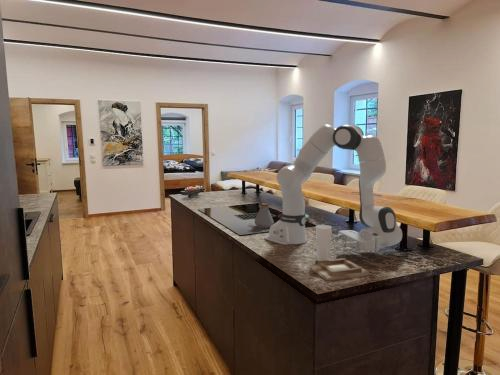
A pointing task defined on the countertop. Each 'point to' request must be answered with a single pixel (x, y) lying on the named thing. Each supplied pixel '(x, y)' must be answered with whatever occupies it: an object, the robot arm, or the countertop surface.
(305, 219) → the donut
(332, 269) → the holder board
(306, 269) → the countertop surface
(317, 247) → the drinking glass
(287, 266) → the countertop surface
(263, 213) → the coffee pot
